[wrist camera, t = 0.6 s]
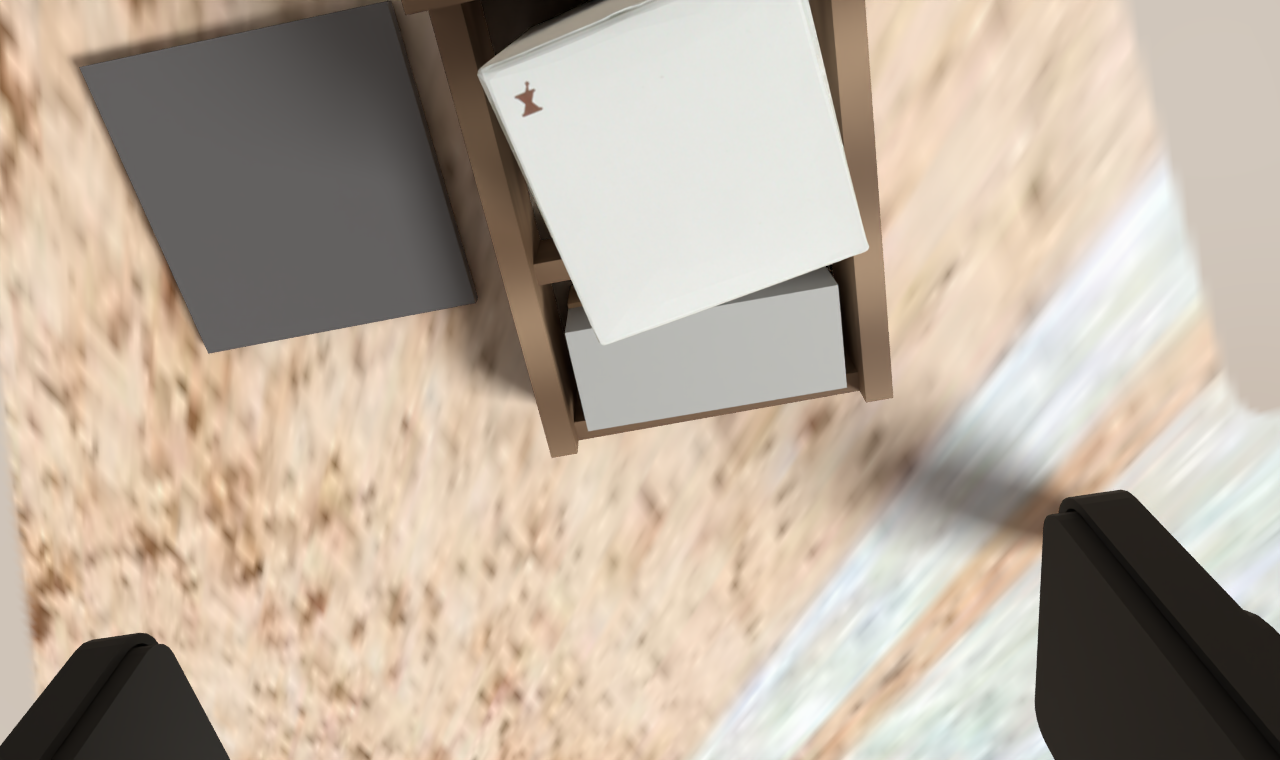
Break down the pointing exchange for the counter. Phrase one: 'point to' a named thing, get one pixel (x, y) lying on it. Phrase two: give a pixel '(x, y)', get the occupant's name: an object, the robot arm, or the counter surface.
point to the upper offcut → (714, 355)
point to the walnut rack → (540, 264)
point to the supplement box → (677, 152)
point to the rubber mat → (288, 177)
